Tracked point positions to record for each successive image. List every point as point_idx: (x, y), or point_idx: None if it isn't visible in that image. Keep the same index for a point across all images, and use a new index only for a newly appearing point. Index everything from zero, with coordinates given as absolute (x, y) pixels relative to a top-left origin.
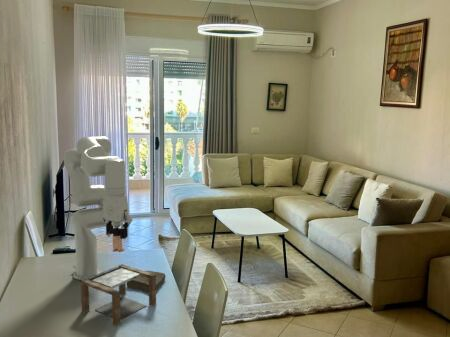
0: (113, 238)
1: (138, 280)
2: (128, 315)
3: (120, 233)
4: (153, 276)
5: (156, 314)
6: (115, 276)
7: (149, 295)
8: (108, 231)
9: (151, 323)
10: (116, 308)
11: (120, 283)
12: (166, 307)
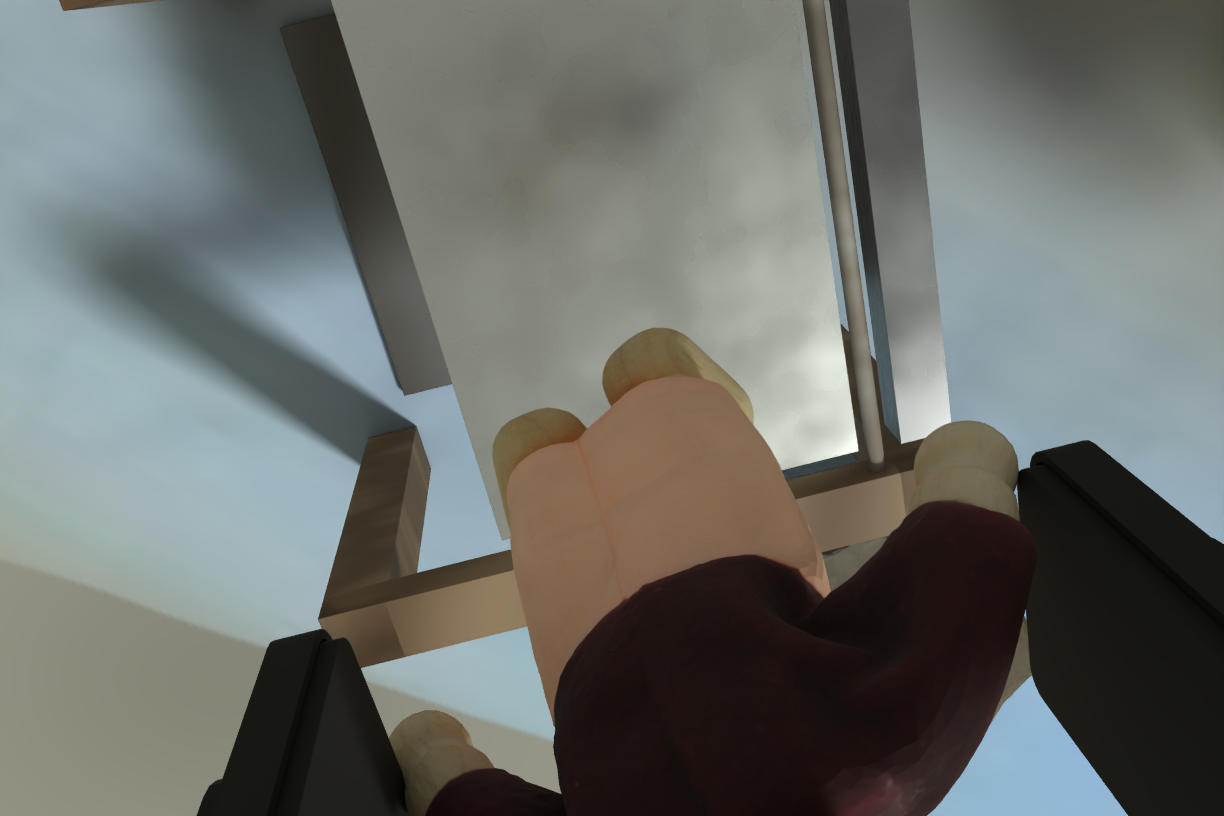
0: (760, 521)
1: (836, 568)
2: (323, 152)
3: (275, 764)
4: (328, 630)
5: (186, 379)
6: (651, 246)
7: (399, 472)
8: (1083, 565)
9: (34, 249)
10: None
11: (392, 189)
12: (264, 518)
